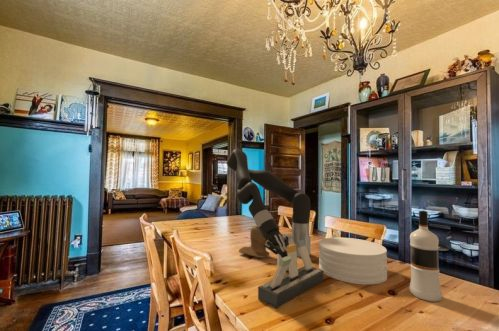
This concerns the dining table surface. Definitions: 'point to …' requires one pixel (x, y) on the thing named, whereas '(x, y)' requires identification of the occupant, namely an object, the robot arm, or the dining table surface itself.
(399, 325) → the dining table surface
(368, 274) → the plate stack
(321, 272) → the switch strip
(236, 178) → the robot arm
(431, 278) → the vodka
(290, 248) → the lever amber
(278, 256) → the pill bottle
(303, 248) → the lever slate
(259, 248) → the brown boot
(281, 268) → the lever sage
